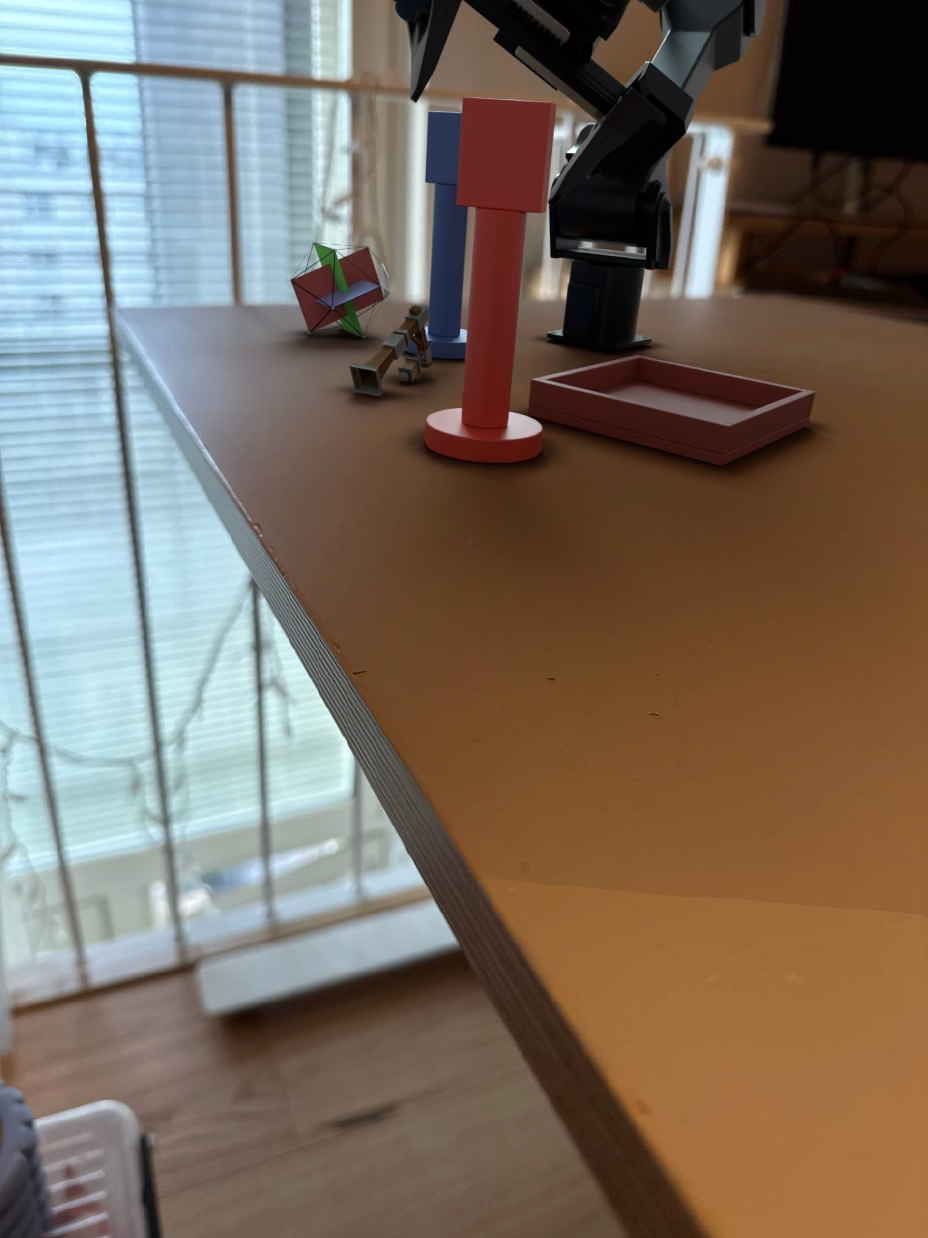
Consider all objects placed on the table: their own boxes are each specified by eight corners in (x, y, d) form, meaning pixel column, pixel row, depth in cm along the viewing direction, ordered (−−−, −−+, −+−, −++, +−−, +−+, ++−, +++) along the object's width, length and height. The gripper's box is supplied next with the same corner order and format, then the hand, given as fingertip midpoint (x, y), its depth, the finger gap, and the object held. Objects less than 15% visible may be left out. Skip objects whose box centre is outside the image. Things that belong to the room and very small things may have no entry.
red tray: (631, 386, 63) (636, 354, 62) (808, 426, 56) (816, 391, 55) (527, 415, 54) (530, 378, 53) (721, 466, 47) (729, 426, 46)
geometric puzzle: (289, 313, 66) (352, 218, 66) (257, 297, 72) (315, 209, 71) (361, 370, 71) (421, 282, 70) (326, 351, 76) (382, 269, 76)
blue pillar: (438, 339, 73) (450, 113, 66) (499, 353, 70) (518, 117, 62) (385, 347, 69) (392, 107, 61) (448, 362, 65) (462, 110, 58)
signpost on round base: (446, 423, 51) (465, 100, 44) (552, 439, 50) (589, 107, 43) (407, 451, 46) (422, 90, 39) (524, 470, 45) (561, 99, 37)
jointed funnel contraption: (446, 358, 62) (436, 296, 58) (388, 430, 57) (374, 367, 54) (422, 354, 62) (411, 293, 59) (363, 425, 58) (348, 363, 55)
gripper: (520, -295, 45) (391, -93, 41) (794, -35, 51) (709, 170, 46) (433, -104, 56) (322, 76, 51) (670, 96, 61) (590, 275, 56)
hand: (486, 149), depth 51 cm, fingers open, 9 cm apart
